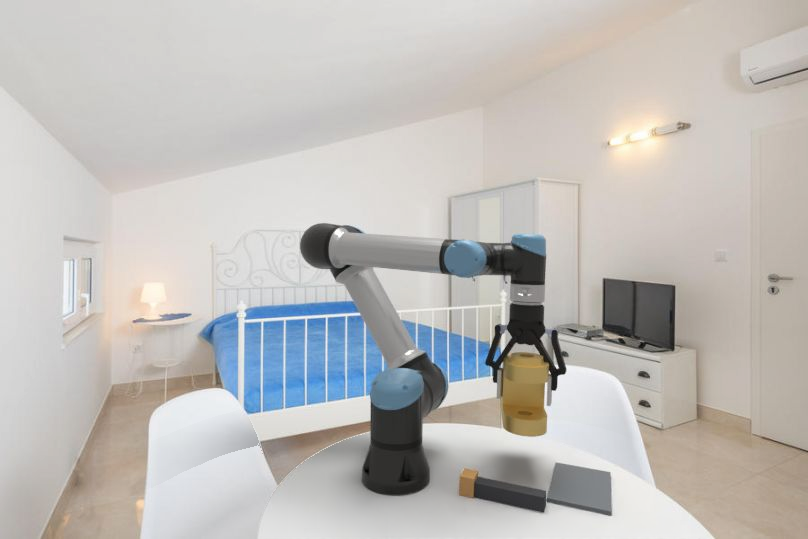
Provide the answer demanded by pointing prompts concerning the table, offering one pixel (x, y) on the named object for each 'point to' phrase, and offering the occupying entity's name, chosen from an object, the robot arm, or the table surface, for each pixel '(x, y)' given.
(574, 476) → the mat
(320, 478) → the table surface
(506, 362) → the gold clevis bracket
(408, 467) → the robot arm
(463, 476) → the dark grey bar
